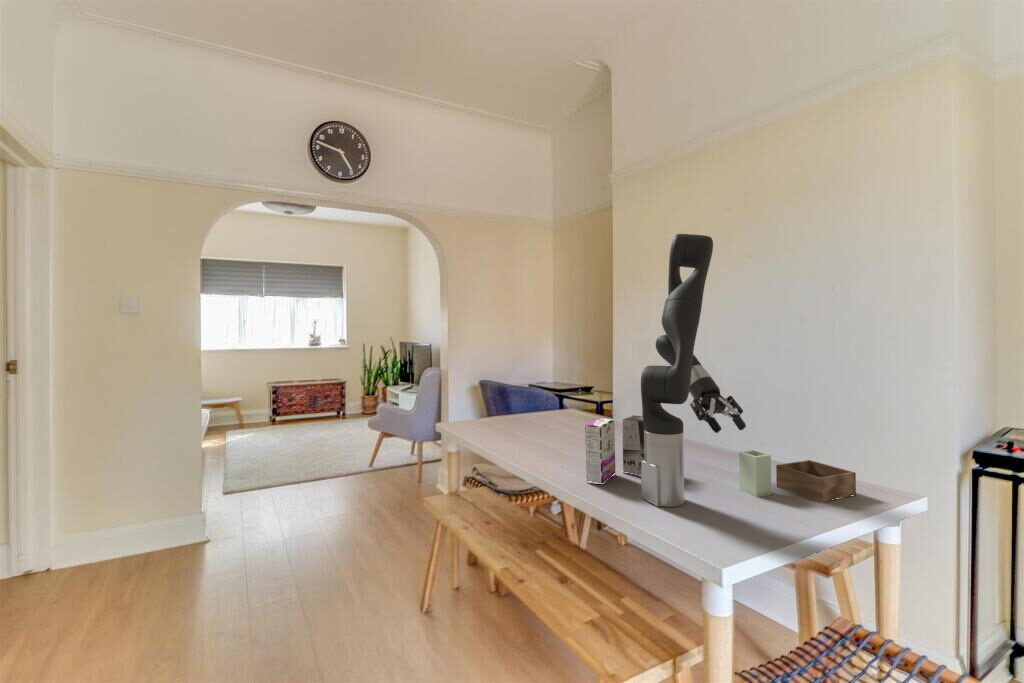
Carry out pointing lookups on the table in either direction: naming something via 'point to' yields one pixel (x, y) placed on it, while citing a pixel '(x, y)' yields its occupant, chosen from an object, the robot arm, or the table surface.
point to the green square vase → (755, 473)
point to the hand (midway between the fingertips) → (731, 429)
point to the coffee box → (633, 444)
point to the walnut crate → (816, 480)
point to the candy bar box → (600, 450)
